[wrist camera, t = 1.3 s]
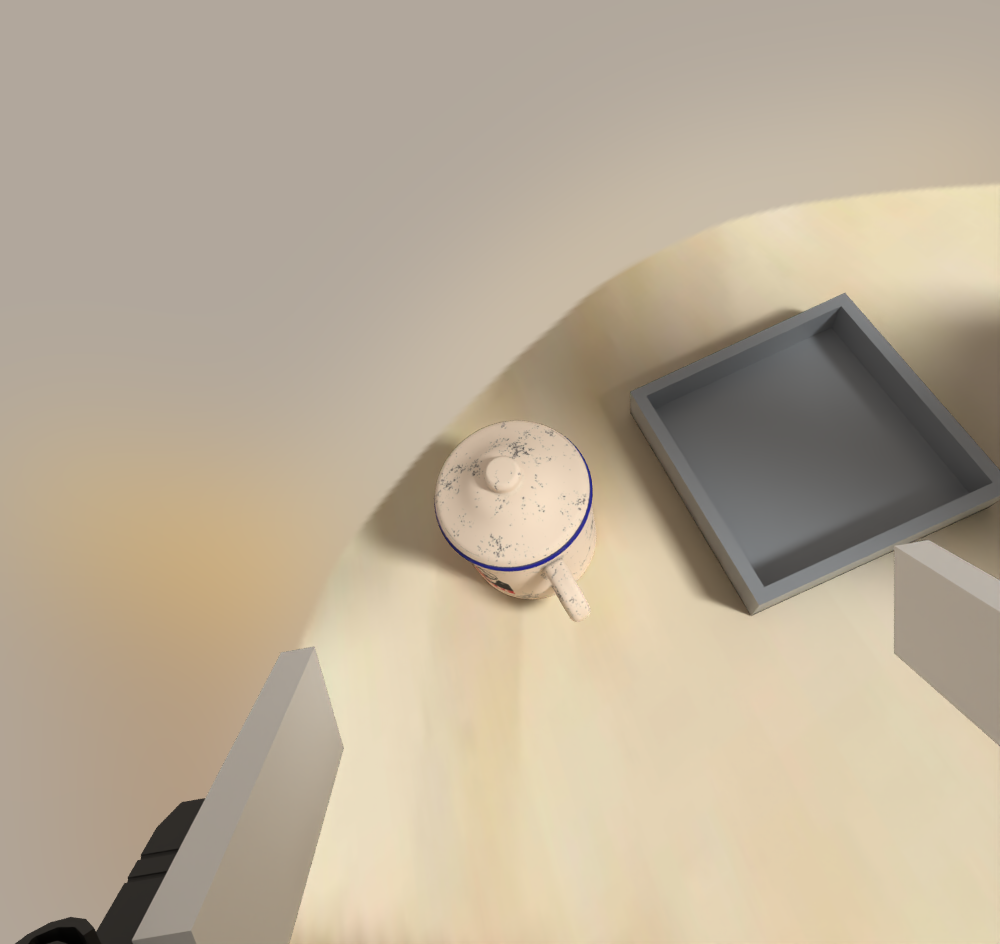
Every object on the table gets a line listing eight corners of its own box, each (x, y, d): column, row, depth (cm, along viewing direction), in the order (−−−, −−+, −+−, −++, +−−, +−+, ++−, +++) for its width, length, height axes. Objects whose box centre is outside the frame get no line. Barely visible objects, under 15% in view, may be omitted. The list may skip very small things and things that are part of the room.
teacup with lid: (447, 517, 46) (391, 447, 36) (557, 454, 47) (534, 366, 36) (527, 670, 41) (489, 640, 31) (651, 598, 41) (655, 544, 31)
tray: (833, 319, 47) (844, 292, 44) (989, 506, 40) (1015, 488, 37) (630, 413, 47) (630, 391, 44) (751, 615, 40) (759, 605, 37)
